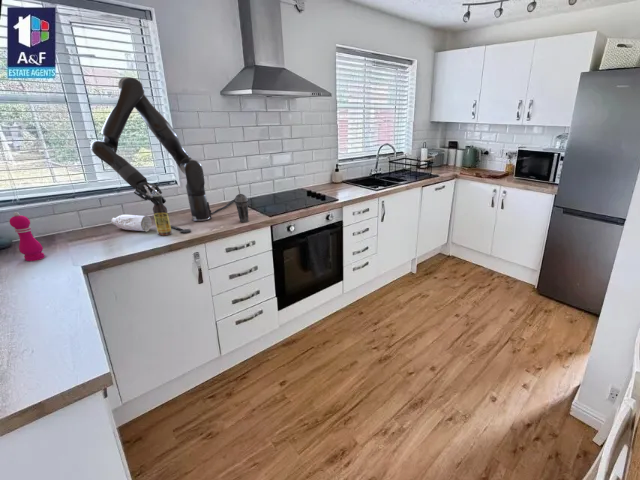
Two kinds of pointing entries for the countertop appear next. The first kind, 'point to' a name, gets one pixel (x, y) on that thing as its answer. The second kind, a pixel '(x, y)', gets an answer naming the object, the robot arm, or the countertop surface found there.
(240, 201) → the beverage cup
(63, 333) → the countertop surface
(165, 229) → the sauce bottle
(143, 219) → the white bottle
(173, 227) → the spoon
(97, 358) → the countertop surface
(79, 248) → the countertop surface
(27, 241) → the pepper mill
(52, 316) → the countertop surface
